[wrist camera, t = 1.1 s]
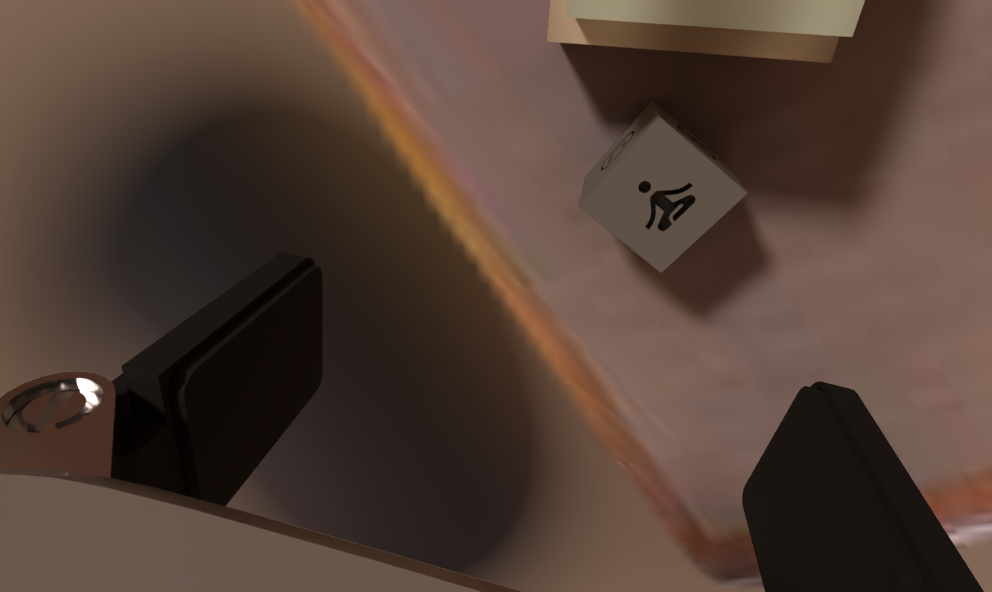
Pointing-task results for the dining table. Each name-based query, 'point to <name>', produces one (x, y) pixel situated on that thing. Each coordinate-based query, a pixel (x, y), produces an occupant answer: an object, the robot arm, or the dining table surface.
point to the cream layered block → (709, 26)
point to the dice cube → (659, 188)
